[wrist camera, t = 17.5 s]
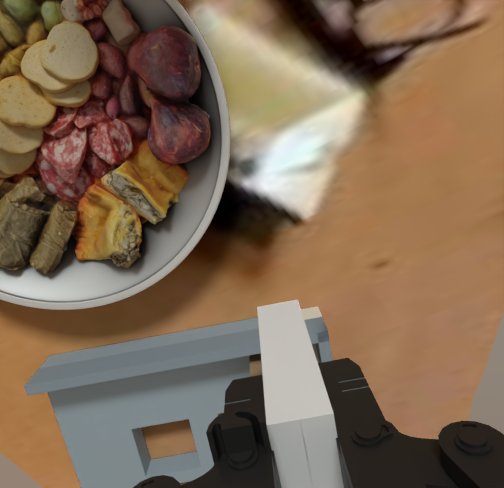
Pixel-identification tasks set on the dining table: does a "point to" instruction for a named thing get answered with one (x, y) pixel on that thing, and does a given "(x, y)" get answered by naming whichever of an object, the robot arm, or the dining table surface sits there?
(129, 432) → the box
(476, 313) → the dining table surface
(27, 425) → the dining table surface
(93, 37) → the bowl
